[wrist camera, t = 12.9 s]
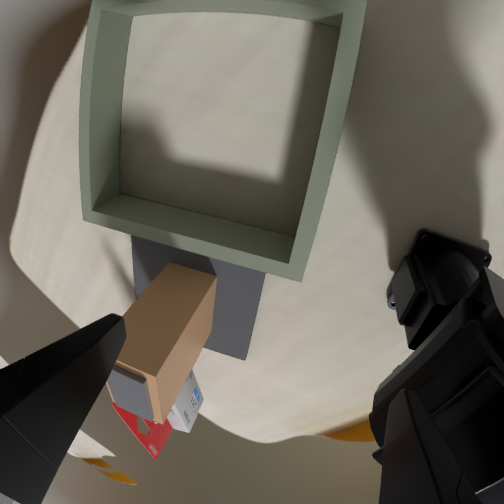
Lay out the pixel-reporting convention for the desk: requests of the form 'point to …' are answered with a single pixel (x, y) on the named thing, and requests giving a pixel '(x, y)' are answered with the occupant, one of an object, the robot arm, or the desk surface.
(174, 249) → the rubber mat
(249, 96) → the desk surface
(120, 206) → the case
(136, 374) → the box
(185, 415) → the ink cartridge box
